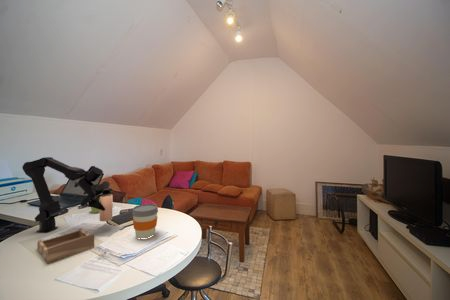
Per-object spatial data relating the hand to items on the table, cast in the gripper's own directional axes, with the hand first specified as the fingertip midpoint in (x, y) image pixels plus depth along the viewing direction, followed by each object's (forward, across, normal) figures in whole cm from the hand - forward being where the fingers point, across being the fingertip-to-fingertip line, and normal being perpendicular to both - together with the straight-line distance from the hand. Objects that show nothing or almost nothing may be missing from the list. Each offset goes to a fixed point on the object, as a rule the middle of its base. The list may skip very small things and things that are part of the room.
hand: (108, 208), depth 106 cm
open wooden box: (+4, -19, +14) cm, 24 cm away
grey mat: (+9, 0, +10) cm, 13 cm away
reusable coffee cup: (+25, -2, -6) cm, 26 cm away
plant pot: (-10, +30, +30) cm, 43 cm away
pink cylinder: (+3, 0, +5) cm, 6 cm away
